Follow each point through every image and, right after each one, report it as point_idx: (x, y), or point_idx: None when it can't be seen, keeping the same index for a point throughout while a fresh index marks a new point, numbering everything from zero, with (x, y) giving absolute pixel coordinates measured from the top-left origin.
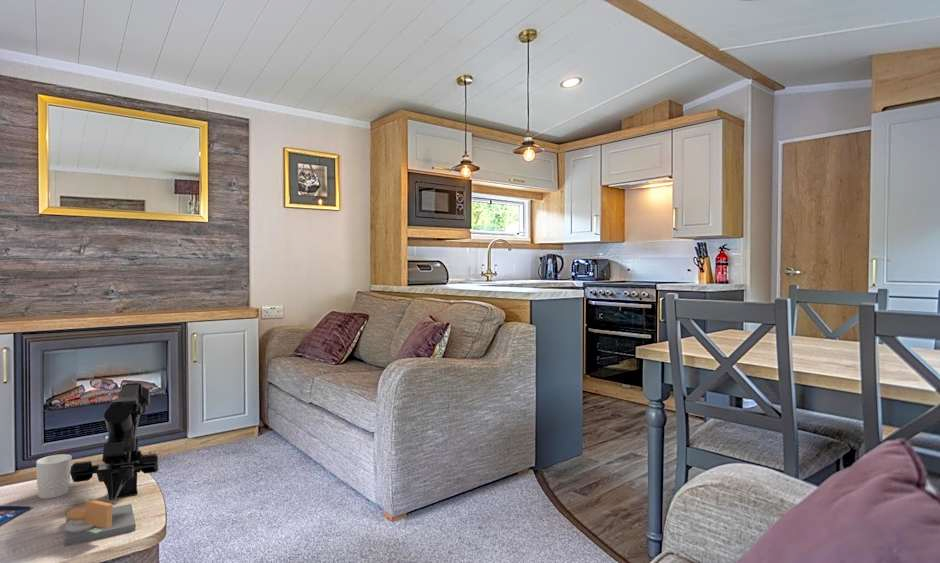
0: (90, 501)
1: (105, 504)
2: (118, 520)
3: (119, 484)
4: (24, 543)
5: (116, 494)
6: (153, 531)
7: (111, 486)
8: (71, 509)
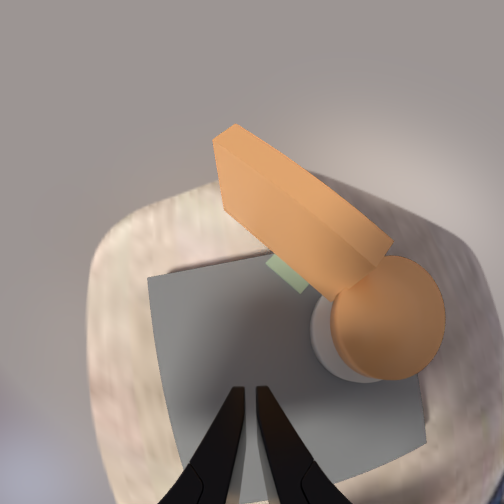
0: (362, 222)
1: (250, 144)
2: (218, 349)
3: (197, 463)
4: (471, 305)
5: (222, 408)
6: (105, 250)
7: (267, 455)
8: (438, 334)
